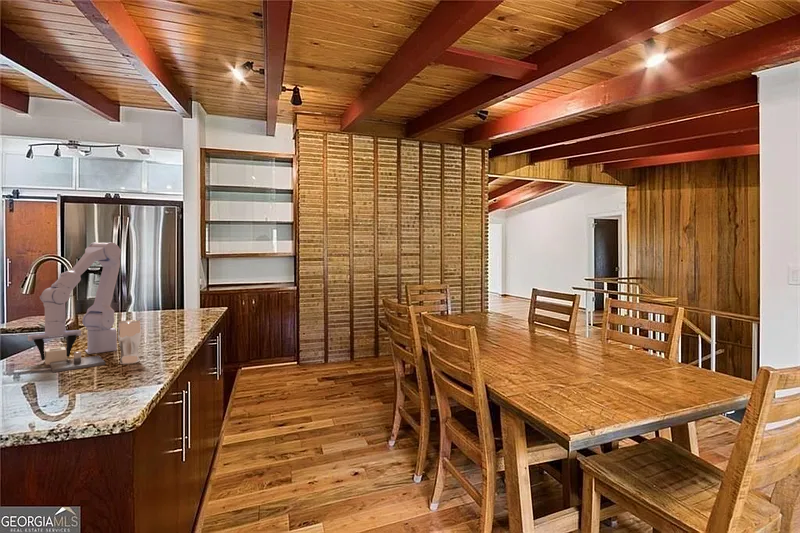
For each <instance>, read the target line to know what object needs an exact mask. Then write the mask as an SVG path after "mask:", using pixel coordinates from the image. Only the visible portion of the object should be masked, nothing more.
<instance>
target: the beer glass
mask: <svg viewBox="0 0 800 533" xmlns="http://www.w3.org/2000/svg"><path fill="white" fill-rule="evenodd" d="M141 337H142V327H141V320H138V319H129V320H127V319H125V320H120V321H118V328H117V340H118V345H119V349H120V359H119V364H120V365H132V364H136V363H139V362H140V355H139V354H140V353H139V346H140V342H141Z"/></svg>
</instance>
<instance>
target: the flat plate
mask: <svg viewBox="0 0 800 533" xmlns="http://www.w3.org/2000/svg"><path fill="white" fill-rule="evenodd" d="M105 365H106V361H105V360H104V359H103V358H102V357H101V356H100V355H95V356H86V357H85V356H84V357H82V351H74V352H73V358H72V359H67V360H63V361H56V362H50V364H49V366H50V370H52V372H53V373H59V372H65V371H71V370H78V369H79V370H80V369H85V368H91V367H99V366H105Z"/></svg>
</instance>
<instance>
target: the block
mask: <svg viewBox="0 0 800 533" xmlns="http://www.w3.org/2000/svg"><path fill="white" fill-rule="evenodd" d="M66 348H67V347H65V346H61V347H53V348H51V347H50V348H44V356H45V360H44V363H45V365H46V366H47V365H50V362H56V361H63V360H68V357H67V349H66Z"/></svg>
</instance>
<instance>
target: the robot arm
mask: <svg viewBox="0 0 800 533" xmlns="http://www.w3.org/2000/svg"><path fill="white" fill-rule="evenodd" d="M121 254H122V249H121V248H120V247H119V245H118V244H117V243H115V242H91V243H90V244H89V245H88V246H86V248H85V249H84V253H83V255H82V256H81V257H80V259H79V260H78V261H77V262H76V263H75V264H74V265H73V267H72V268H71V270H66V271H64V272H61V273H60V275H59V276H60V277H58V278H57V279H56V280H55V282H53V283H52V284H51V285H50V287H48V288H45V289H44V290H42V292H41V295H39V299H40V301H41V302H42V303H43V307H44V332H43V333H35V334H34V333H33V334H28V335H27V341H28V342H34V344H35V345H36V348H37V350H38V351H39V354H40V358H41V360H42V361H45V342H44V341H45V340H48V339H57V338H58V339H59V338H65V340H66V347H65V348H66V349H67V358H69V357H70V355H71V350H72V349H73V348H72V347H73V346H74V344H75V342H76V341H77V338H78V337H79V336H82V330H81V329H76V330H75V329H72V330H67V329H66V325H67V324H66V322H67V321H66V303H67V302H68V301H70V297H71V293H72V291H73V290H74V289H75V287H76V286H77V285H79V283H80V282H81V280H82V278H81V276H82V275H83V274H84V273H85V272H86V271H87V270H88V269H89V268H90V267H91V266H92V265H93V264H94V263H95V262H98V263H99V264H100V265H101V266H102V271H101V274H100V278H99V282H98V285H97V290H96V294H95V297H94V302H93V304H92V305H91V306H90V307H88V308H87V310H86V313H85V314H84V315H83V317H82V319H81V320H82V321H81V322H82V325H83V326H84V327H85V330H86V331H87V335H86V336H87V349H84V351H85V352H86V353H87V355H91V354H98V353H99V354H100V353H106V352H107V353H108V352H115V351H117V350H118V341H117V340H118V331H117V329H116V327H113V325H114V324H115V320H116V319H115V313H116V312H115V310H114V309H113V308H112V307H111V305H112V300H113V296H114V293H115V289H116V284H117V281H118V275H119V271H120V267H121V261H120V260H121V258H120V257H121Z"/></svg>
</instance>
